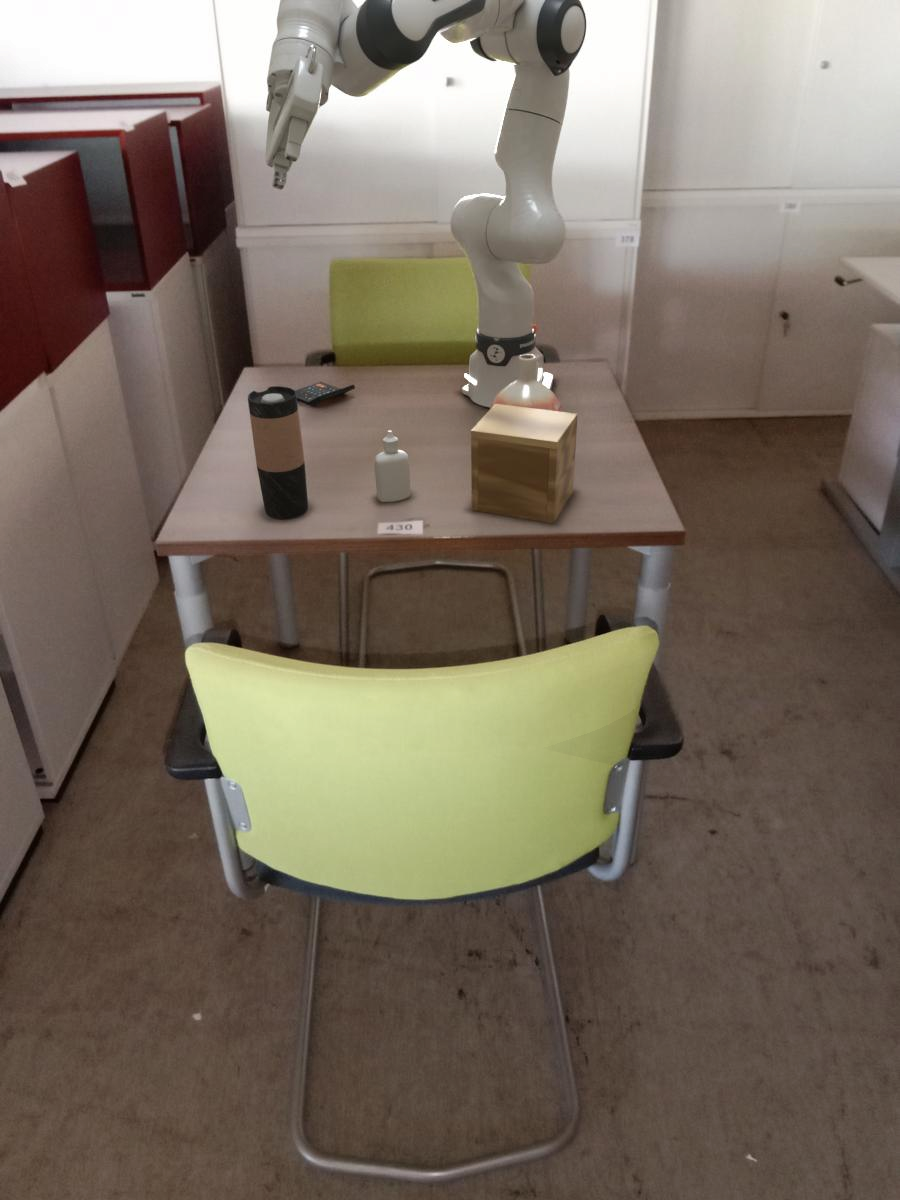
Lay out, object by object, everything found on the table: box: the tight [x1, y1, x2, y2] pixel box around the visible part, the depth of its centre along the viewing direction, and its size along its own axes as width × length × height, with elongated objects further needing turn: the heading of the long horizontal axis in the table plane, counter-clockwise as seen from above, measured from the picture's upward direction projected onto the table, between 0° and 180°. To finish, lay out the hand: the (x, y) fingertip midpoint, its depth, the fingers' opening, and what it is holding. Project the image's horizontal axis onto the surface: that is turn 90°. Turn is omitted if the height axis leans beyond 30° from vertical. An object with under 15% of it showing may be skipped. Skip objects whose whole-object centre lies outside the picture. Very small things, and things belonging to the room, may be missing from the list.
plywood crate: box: [470, 404, 578, 524], centre depth 151 cm, size 12×14×14 cm
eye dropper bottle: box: [374, 429, 412, 503], centre depth 154 cm, size 4×6×12 cm
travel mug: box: [247, 385, 309, 521], centre depth 149 cm, size 8×8×20 cm
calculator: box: [294, 381, 356, 406], centre depth 197 cm, size 9×12×3 cm
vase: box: [488, 354, 563, 412], centre depth 168 cm, size 14×14×18 cm
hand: (284, 173), depth 130 cm, fingers open, 8 cm apart
